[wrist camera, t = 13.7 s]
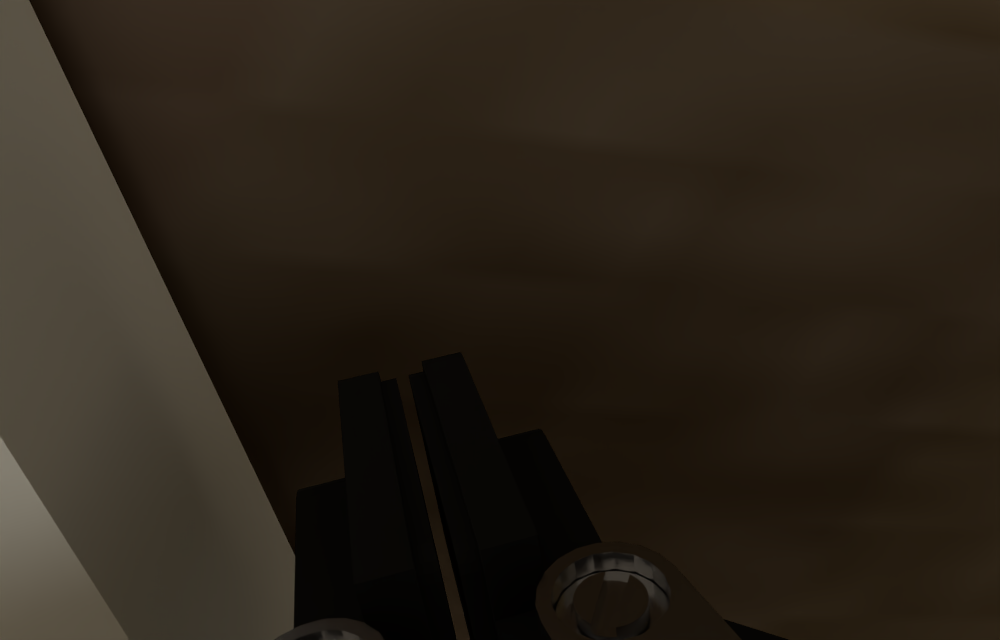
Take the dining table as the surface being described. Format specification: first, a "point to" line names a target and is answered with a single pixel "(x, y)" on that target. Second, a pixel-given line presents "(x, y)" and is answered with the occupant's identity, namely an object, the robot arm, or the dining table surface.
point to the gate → (109, 406)
